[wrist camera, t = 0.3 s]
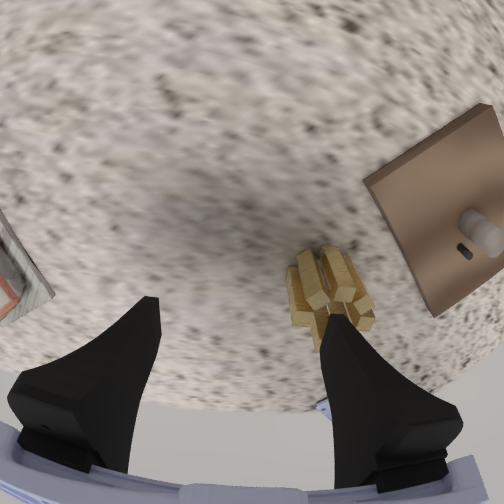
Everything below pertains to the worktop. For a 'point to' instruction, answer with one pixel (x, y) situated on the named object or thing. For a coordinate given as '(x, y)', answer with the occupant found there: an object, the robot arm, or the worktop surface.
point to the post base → (448, 207)
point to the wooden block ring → (317, 296)
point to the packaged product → (18, 278)
